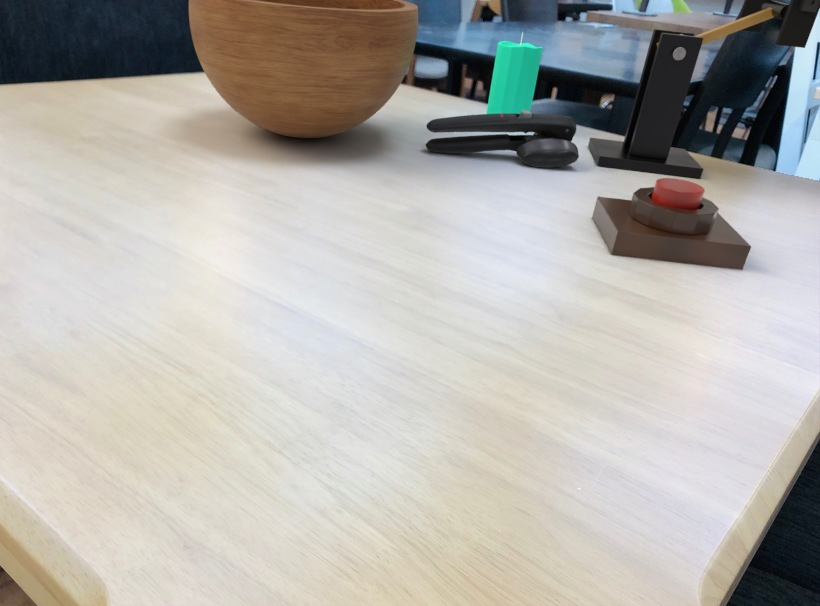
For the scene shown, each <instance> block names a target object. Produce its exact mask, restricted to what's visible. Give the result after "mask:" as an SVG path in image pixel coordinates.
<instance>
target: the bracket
mask: <svg viewBox="0 0 820 606" xmlns="http://www.w3.org/2000/svg"><path fill="white" fill-rule="evenodd" d="M679 34H683V35H679ZM696 36H697V35H695V34H694V33H693V32H689V31H679V30H670V29H660V28H653V31H652V33H651V38H650V42H649V45H648V49H647V53H646V57H645V60H644V64H643V68H642V71H641V76H640V79H639V83H638V86H637V91H636V94H635V98H634V101H633V105H632V108H631V112H630V115H629V116H630V117H629V120H628V124H627V127H626V131H625V136H624V139H623V141H622V140H613V139H605V138H597V137H589V141H588V145H587V148H588V149H589V151H590V154H591V155H592V157H593V160H594V161H595V164H596V166H597V167H603V168H612V169H620V170H628V171H635V172H643V173H652V174H660V175H667V176H668V175H669V176H677V177H684V178H692V179H701V178H702V175H703V172H704V168H703V167H702V166H701V165H700V163H699V162H698V161H697V160H696V159H695V158H694V157H693V156H692V155H691V154H690V153H689V152H688V151H687V149H685V148H679V147H673V146H672V145H673V141H674V138H675V134H676V131H677V128H678V124H679V121H680V117H681V114H682V111H683V109H684V108H683V107H684V104H685V101H686V99H687V94H688V91H689V88H690V85H691V81H692V78H693V75H694V71H695V68H696V65H697V63H698V62H697V61H698V58H699V55H700V52H701V49H702V46H703V45H702V42H703V38H702V37H696ZM657 43H658V46H657Z"/></svg>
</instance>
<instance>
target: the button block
mask: <svg viewBox="0 0 820 606" xmlns="http://www.w3.org/2000/svg"><path fill="white" fill-rule="evenodd" d="M654 187H655V186H651V187H649V186H648V187H640V188H638V189H637V190H635V191H634V192H633V193H632V197H631V199H624V198H614V197H604V196H596V197H597V198H596V200H595V205H594V209H593V212H592V217H591V219H592V221H593V223H594V225H595V227H596V229H597V230H598V232H599V234H600V236H601V238H602V240H603V241H604V243H605V245H606V248H607V249H608V251H609V253H610V255H611V256H617V257H626V258H627V257H628V258H633V259H634V258H635V259H644V260H652V261H660V262H669V263H678V264H687V265H696V266H703V267H704V266H705V267H713V268H721V269H729V270H740V271H742V270H743V269H744V266H745V264H746V262H747V259H748V256H749V254H750V252H751V248H752V246H751V245H750V244H749V242H748V241H747V240H745V239H744V238H743V236H741V234H739V232H738V231H737V230H735V229H734V227H733V226H732V225H730V223H729V222H728V221H727V220H726V219H725V218H724V217H723V216H722V215H721V213H719V211H720V208H719V207H718V206H717V205H716V204H715V203H714V202H713V201H712V200H710V199H707V198H705V197H703V198H702V201H701V204H700V207H699V209H697V210H686V209H678V208H673V207H669V206H665V205H661V204H659V203H657V202H655V201H653V200H651V197H652V194H653V190H654Z"/></svg>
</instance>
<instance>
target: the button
mask: <svg viewBox="0 0 820 606" xmlns="http://www.w3.org/2000/svg"><path fill="white" fill-rule="evenodd" d="M653 187H654V190H653V194H652V197H651V200H653V201H655V202H657V203H659V204H661V205H665V206H669V207H673V208H678V209H686V210H697V209H699V207H700V204H701V201H702V198H704V196H705V195H704V194H705V192H706V189H705V188H704V187H703V186H701V185H700V184H698V183H695V182H692V181H690V180H685V179H680V178H673V177H663V178H657V180H655V184H654V186H653Z"/></svg>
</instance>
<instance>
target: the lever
mask: <svg viewBox="0 0 820 606" xmlns="http://www.w3.org/2000/svg"><path fill="white" fill-rule="evenodd" d="M789 4H790V3H785V2H781V1H777V0H768V1H766V2H765V3H764V4H763V5H762V7H761V11H759V12H756V13H754V14H751V15H749V16H746V17H743V18H741V19H739V18H738V19H735V20H733V21H730V22H728V23H725V24H722V25H720V26H718V27H715V28H712V29H710V30H707V31H704V32H702V33H700V34H697V35H695V36H696V37H702V38H703V42H702V45H701V46H703V45H705V44H708V43H710V42H713V41H716V40H718V39H721V38H723V37H726V36H729V35H733V34H734V33H737V32H739V31H743V30H742V29H745V28H747V27H750V26H753V25H755V24H758V23H761V22H763V21H764V22H766V21H769V20H770V19H773V18H774V19H777V20H781V21H784V18H785V15H786V12H787V9H788V6H789ZM679 35H683V34H679ZM657 46H658V43H657Z"/></svg>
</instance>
